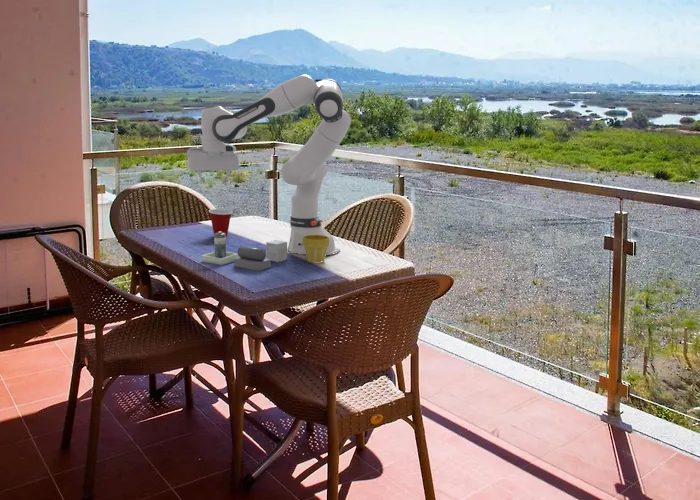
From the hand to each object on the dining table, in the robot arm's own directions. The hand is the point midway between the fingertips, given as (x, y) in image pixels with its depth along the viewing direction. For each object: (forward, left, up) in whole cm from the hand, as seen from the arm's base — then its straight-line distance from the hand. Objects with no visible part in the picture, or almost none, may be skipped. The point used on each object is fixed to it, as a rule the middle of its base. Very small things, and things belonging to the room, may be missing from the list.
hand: (213, 181), depth 273 cm
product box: (-29, -3, -29) cm, 41 cm away
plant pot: (-43, -10, -29) cm, 53 cm away
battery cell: (-12, +11, -28) cm, 33 cm away
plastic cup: (+18, -24, -29) cm, 42 cm away
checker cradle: (-28, +11, -29) cm, 42 cm away
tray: (-12, +11, -29) cm, 33 cm away
